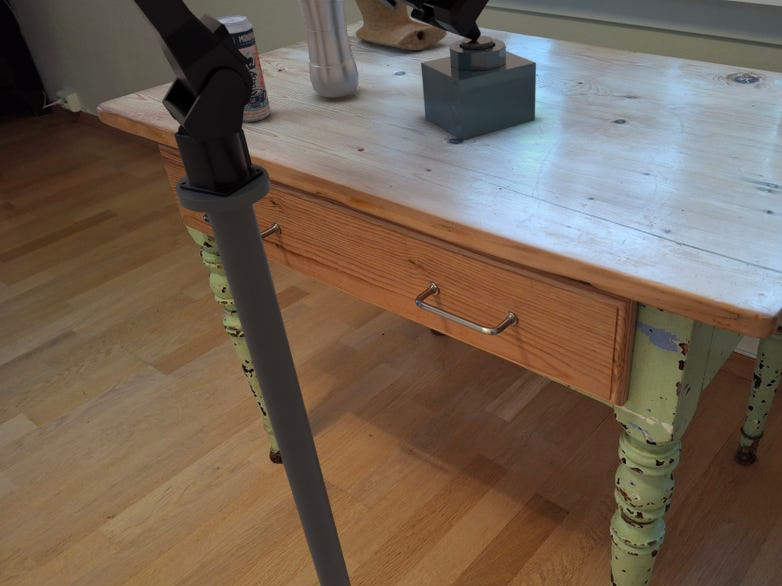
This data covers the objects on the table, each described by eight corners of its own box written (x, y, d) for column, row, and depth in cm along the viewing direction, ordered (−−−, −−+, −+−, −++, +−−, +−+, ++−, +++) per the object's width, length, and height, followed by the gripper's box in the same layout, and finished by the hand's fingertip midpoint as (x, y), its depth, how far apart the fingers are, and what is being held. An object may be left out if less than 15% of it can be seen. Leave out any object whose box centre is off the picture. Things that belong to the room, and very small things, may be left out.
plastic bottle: (357, 102, 96) (333, -67, 84) (308, 103, 97) (277, -65, 84) (364, 87, 101) (342, -74, 89) (317, 88, 102) (289, -72, 89)
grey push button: (473, 68, 83) (472, 46, 82) (456, 61, 86) (455, 39, 84) (499, 62, 85) (499, 40, 83) (482, 55, 87) (481, 33, 86)
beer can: (245, 126, 91) (220, 26, 83) (228, 117, 93) (203, 19, 86) (278, 116, 93) (257, 18, 85) (261, 107, 96) (239, 12, 88)
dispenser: (461, 140, 85) (458, 62, 79) (425, 119, 91) (419, 45, 85) (535, 119, 89) (536, 45, 83) (495, 100, 95) (494, 29, 89)
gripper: (476, -125, 65) (565, -11, 76) (384, -134, 77) (473, -35, 89) (410, -17, 67) (507, 78, 78) (331, -43, 79) (424, 43, 90)
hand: (477, 37), depth 84 cm, fingers closed, pressing on grey push button
